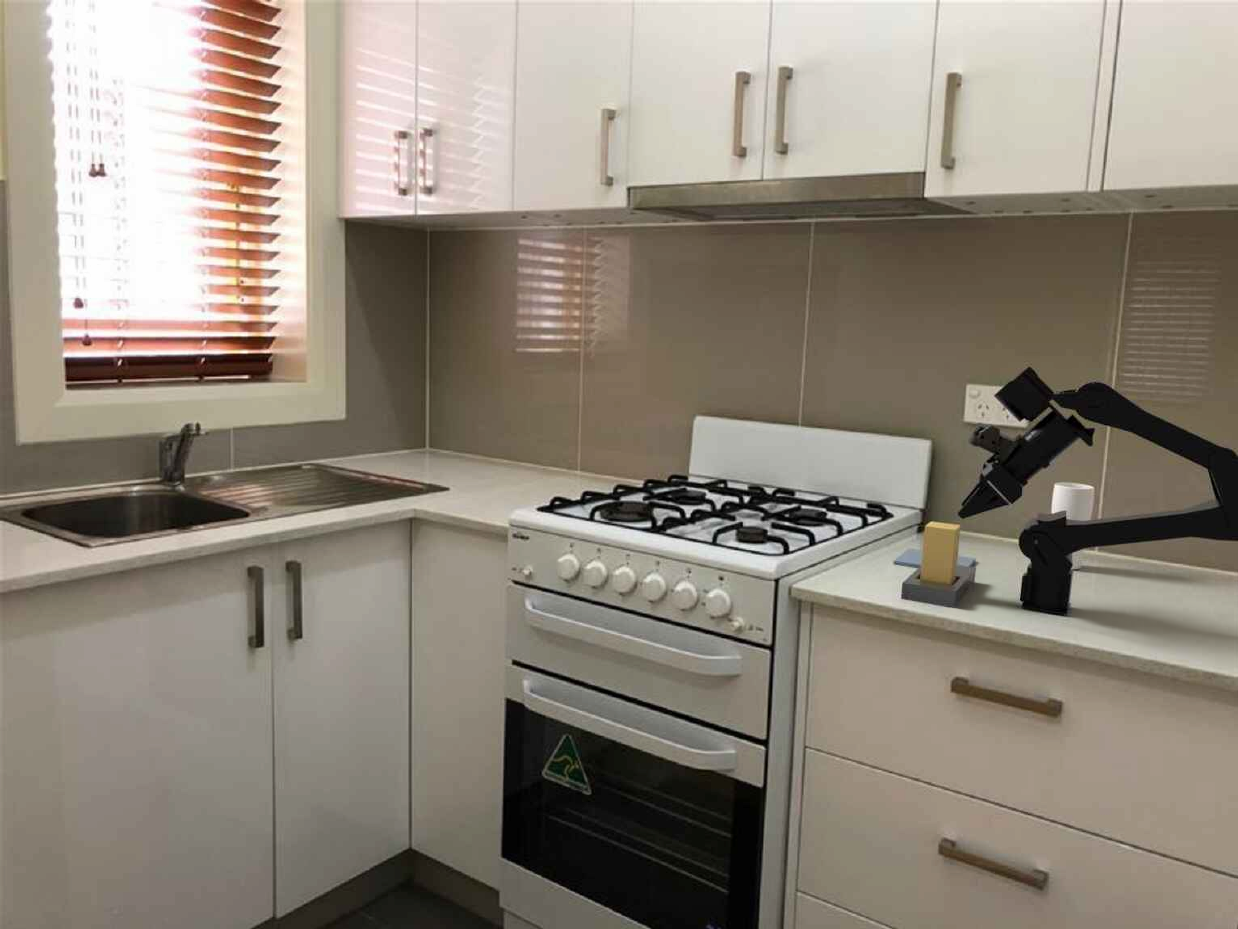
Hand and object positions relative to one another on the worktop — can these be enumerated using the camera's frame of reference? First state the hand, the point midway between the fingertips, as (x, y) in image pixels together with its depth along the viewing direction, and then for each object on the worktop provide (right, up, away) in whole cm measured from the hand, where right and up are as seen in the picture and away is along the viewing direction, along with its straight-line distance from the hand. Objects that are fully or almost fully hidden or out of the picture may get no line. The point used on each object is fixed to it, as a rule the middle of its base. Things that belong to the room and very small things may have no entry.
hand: (961, 511), depth 155 cm
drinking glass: (+27, -11, +25) cm, 39 cm away
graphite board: (-2, -13, +5) cm, 14 cm away
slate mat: (+3, -10, +23) cm, 26 cm away
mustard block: (-3, -13, +3) cm, 14 cm away
